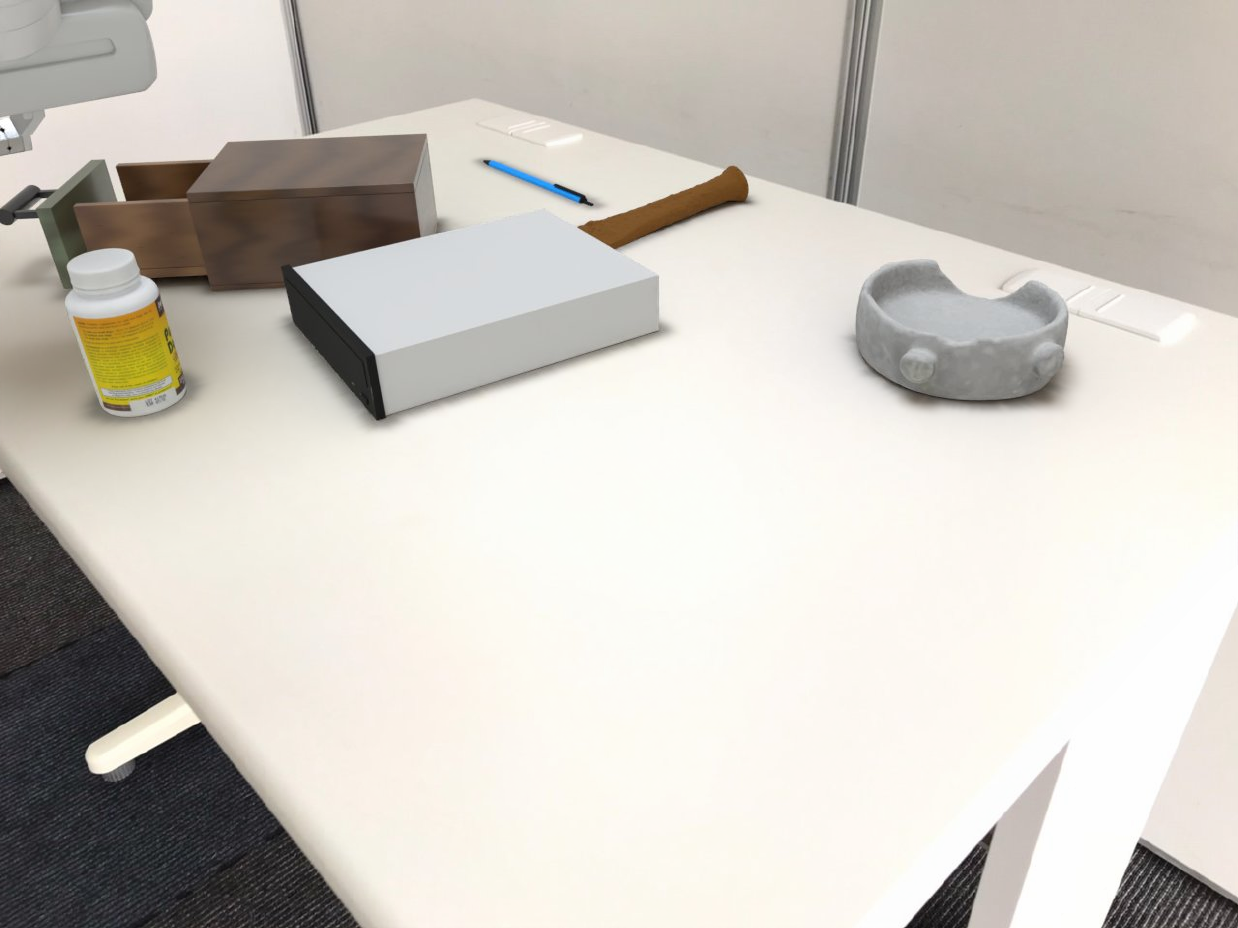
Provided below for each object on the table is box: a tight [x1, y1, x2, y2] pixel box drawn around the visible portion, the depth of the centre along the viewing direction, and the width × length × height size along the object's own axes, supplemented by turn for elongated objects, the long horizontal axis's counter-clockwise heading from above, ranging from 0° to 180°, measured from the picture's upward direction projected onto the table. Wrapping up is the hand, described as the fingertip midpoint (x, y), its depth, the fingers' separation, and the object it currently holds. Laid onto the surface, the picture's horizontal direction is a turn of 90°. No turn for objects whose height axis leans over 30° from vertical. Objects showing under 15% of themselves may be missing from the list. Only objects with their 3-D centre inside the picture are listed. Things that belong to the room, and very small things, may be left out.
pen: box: [482, 159, 595, 207], centre depth 104 cm, size 1×19×1 cm, turn 40°
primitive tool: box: [576, 165, 750, 250], centre depth 94 cm, size 19×6×4 cm, turn 130°
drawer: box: [0, 158, 214, 290], centre depth 86 cm, size 21×12×7 cm, turn 95°
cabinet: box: [186, 133, 439, 292], centre depth 87 cm, size 18×14×9 cm
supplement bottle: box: [64, 248, 187, 418], centre depth 66 cm, size 6×6×10 cm
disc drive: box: [281, 208, 660, 421], centre depth 75 cm, size 18×22×5 cm
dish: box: [855, 258, 1070, 401], centre depth 70 cm, size 14×14×5 cm
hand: (5, 147), depth 71 cm, fingers closed
